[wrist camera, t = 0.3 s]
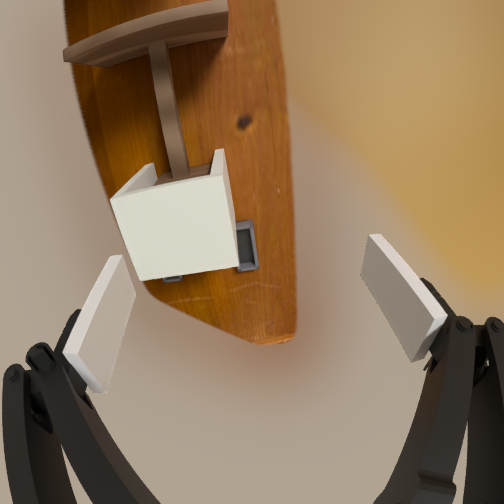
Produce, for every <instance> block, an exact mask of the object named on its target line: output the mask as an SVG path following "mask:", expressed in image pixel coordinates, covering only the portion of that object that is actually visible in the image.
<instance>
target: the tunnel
mask: <svg viewBox="0 0 504 504" xmlns="http://www.w3.org/2000/svg"><path fill="white" fill-rule="evenodd" d="M157 180H158V179H157V175H156V171H155V167H154V163H150V164H146V165H145V166H144V167H143V168H142V169H141V170H140V171H138V172H137V173H136V174H135V175H134V176H133V177H132V178H131V179H130V180H129V181H128V182H127V183H126V184H125V185H124V186H123V187H122V188H121V189H120V190H119V191H118V192H117V193H116V194H115V195H114V196H113V197H112V198H111V199H110V201H111V205H112V208H113V211H114V214H115V217H116V220H117V222H118V225H119V228H120V231H121V234H122V236H123V239H124V242H125V244H126V247H127V250H128V252H129V255H130V257H131V260H132V262H133V265H134V267H135V270H136V272H137V275H138V277H139V279H140V281H144V280H151V279H158V278H164V277H171V276H178V275H185V274H191V273H198V272H204V271H211V270H218V269H224V268H230V267H237V266H239V259H238V247H237V235H236V223H235V212H234V206H233V200H232V195H231V189H230V183H229V177H228V171H227V165H226V159H225V153H224V148H223V149H217V150H215V153H214V158H213V163H212V168H211V173H210V175H206V176H201V177H195V178H190V179H185V180H180V181H175V182H170V183H166V184H161V185H157V186H153V185H154V184H155V182H156V181H157Z"/></svg>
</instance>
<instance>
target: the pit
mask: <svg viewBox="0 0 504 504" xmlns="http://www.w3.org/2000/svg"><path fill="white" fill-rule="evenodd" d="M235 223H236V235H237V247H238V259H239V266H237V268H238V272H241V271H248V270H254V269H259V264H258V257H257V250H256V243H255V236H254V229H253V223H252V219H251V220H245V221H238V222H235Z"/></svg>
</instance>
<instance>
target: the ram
mask: <svg viewBox="0 0 504 504" xmlns="http://www.w3.org/2000/svg"><path fill="white" fill-rule="evenodd" d="M223 37H228V5H227V0H214V1H207V2H201V3H196V4H191V5H186V6H181V7H177V8H173V9H169V10H165V11H161V12H157V13H154V14H150V15H147V16H144V17H140V18H137V19H134V20H131V21H128V22H125V23H123V24H120V25H117V26H115V27H112V28H109V29H107V30H104V31H102V32H100V33H97V34H95V35H93V36H90V37H88V38H86V39H84V40H82V41H80V42H77V43H75V44H73V45H71V46H69V47H67V48H65V49H64V50H63V58H64V62H71V63H79V64H86V65H93V66H99V67H105V68H108V67H110V66H113V65H116V64H118V63H121V62H124V61H127V60H130V59H133V58H136V57H139V56H142V55H146V54H149V56H150V63H151V69H152V75H153V81H154V87H155V93H156V99H157V104H158V109H159V115H160V120H161V125H162V130H163V135H164V139H165V144H166V149H167V153H168V158H169V163H170V167H171V172H166V173H162V175H161V176H160V177H159V178H158V180H157V181H156V182H155V184H154V185H153V186H157V185H161V184H166V183H170V182H175V181H180V180H185V179H190V178H195V177H201V176H206V175H210V173H211V166H210V164H206V165H200V166H195V167H189V163H188V158H187V153H186V148H185V143H184V138H183V133H182V127H181V122H180V117H179V111H178V106H177V100H176V94H175V89H174V83H173V77H172V71H171V64H170V58H169V51H168V48H172V47H176V46H180V45H184V44H189V43H194V42H199V41H204V40H210V39H216V38H223Z"/></svg>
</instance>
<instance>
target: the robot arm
mask: <svg viewBox="0 0 504 504" xmlns="http://www.w3.org/2000/svg"><path fill="white" fill-rule="evenodd" d="M361 277H362V279H363V280H364V282H365V284H366V285H367V287H368V288H369V290H370V292H371V293H372V295H373V297H374V298H375V300H376V302H377V303H378V305H379V306H380V308H381V310H382V312H383V313H384V315H385V317H386V318H387V320H388V322H389V324H390V325H391V327H392V329H393V330H394V332H395V334H396V336H397V338H398V339H399V341H400V343H401V345H402V346H403V349H404V350H405V352H406V354H407V356H408V358H409V360H410V362H415V361H418V360H421V359H423V358H424V357H425V356H426V354H427V352H428V351H430V352H431V354H432V356H431V358H430V360H429V361H428V363H427V364H426V366H425V367H424V369H423V370H424V371H425V370H426V369H427V367H428V369H427V373H426V378H425V382H424V385H423V390H422V393H421V396H420V400H419V403H418V407H417V410H416V413H415V416H414V419H413V422H412V425H411V428H410V431H409V434H408V436H407V439H406V442H405V444H404V447H403V450H402V452H401V454H400V457H399V459H398V462H397V464H396V466H395V468H394V471H393V473H392V475H391V477H390V479H389V481H388V483H387V485H386V487H385V489H384V490H383V492H382V493H381V494H380V495H379V496H378V497H377V499H376V500H375V501H374V503H373V504H452V502H453V500H454V497H455V494H456V485H455V484H454V483H453V475H454V472H455V469H456V465H457V462H458V459H459V455H460V451H461V447H462V443H463V439H464V434H465V430H466V425H467V420H468V447H467V448H468V449H467V467H466V478H465V487H464V496H463V504H504V323H503V322H502V321H501V320H500V319H498V318H496V317H489V318H488V319H487V320H486V322H485V324H484V325H474V324H473V323H472V322H471V321H470V320H469V319H467V318H466V317H463V316H456V314H455V313H454V312H453V310H452V309H451V308H450V307H449V306H448V304H447V303H446V301H445V300H444V299H443V298H442V297H441V295H440V294H439V293H438V292H437V290H436V289H435V288H434V286H433V285H432V284H431V283H430V282H428V281H427V280H425V279H424V278H418V277H417V275H416V274H415V273H414V272H413V270H412V269H411V268H410V267H409V266H408V265H407V263H406V262H405V261H404V260H403V259H402V258H401V257H400V255H399V254H398V253H397V252H396V251H395V250H394V249H393V247H392V246H391V245H390V244H389V243H388V242H387V241H386V240H385V239H384V238H383V236H381V234H369V235H368V239H367V245H366V250H365V255H364V260H363V266H362V271H361ZM135 298H136V293H135V289H134V287H133V284H132V281H131V278H130V275H129V272H128V269H127V266H126V263H125V260H124V257H123V255H115V256H110V258H109V259H108V261H107V263H106V265H105V267H104V268H103V270H102V272H101V274H100V276H99V277H98V279H97V281H96V283H95V285H94V287H93V289H92V290H91V292H90V294H89V296H88V298H87V300H86V302H85V304H84V306H83V308H82V309H77V310H76V311H75V312H74V313H73V314H72V315H71V316H70V318H69V320H68V322H67V324H66V327H65V328H64V330H63V333H62V334H61V336H60V338H59V341H58V343H57V345H56V347H55V350H54V352H53V351H52V349H51V348H50V346H49V345H48V344H46V343H44V342H40V343H37V344H35V345H34V346H33V347H31V348H30V349H29V351H28V352H27V355H26V363H27V364H28V365H29V366H30V367H31V370H26V371H25V370H24V368H23V367H22V366H21V365H20V364H13V365H11V366H10V367H9V368H8V369H7V370H6V372H5V373H4V377H3V393H2V425H3V442H4V453H5V462H6V469H7V475H8V481H9V487H10V492H11V496H12V501H13V504H77V502H76V499H75V496H74V493H73V490H72V487H71V483H70V480H69V476H68V473H67V469H66V465H65V461H64V457H63V452H62V447H63V449H64V451H65V454H66V456H67V458H68V460H69V462H70V464H71V466H72V468H73V470H74V472H75V473H76V475H77V477H78V479H79V481H80V483H81V485H82V486H83V488H84V490H85V491H86V493H87V495H88V496H89V498H90V500H91V501H92V503H93V504H160V502H159V501H158V500H157V499H156V498H155V496H154V495H153V494H152V493H151V492H150V490H149V489H148V488H147V487H146V485H145V484H144V483H143V482H142V480H141V479H140V478H139V476H138V475H137V474H136V473H135V471H134V470H133V469H132V467H131V465H130V464H129V463H128V461H127V460H126V458H125V457H124V455H123V454H122V452H121V451H120V449H119V448H118V447H117V445H116V443H115V442H114V440H113V439H112V437H111V435H110V434H109V432H108V430H107V429H106V427H105V425H104V424H103V422H102V421H101V418H100V417H99V415H98V413H97V411H96V409H95V407H94V406H93V404H92V402H91V400H90V398H89V396H88V395H87V393H86V392H85V391H86V387H87V385H88V387H89V388H90V389H91V390H92V391H93V392H96V393H104V394H108V390H109V386H110V382H111V378H112V374H113V370H114V367H115V363H116V360H117V356H118V352H119V349H120V345H121V342H122V339H123V335H124V332H125V329H126V326H127V322H128V319H129V316H130V313H131V310H132V307H133V304H134V301H135ZM487 361H489V366H488V365H487ZM61 445H62V447H61Z"/></svg>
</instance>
